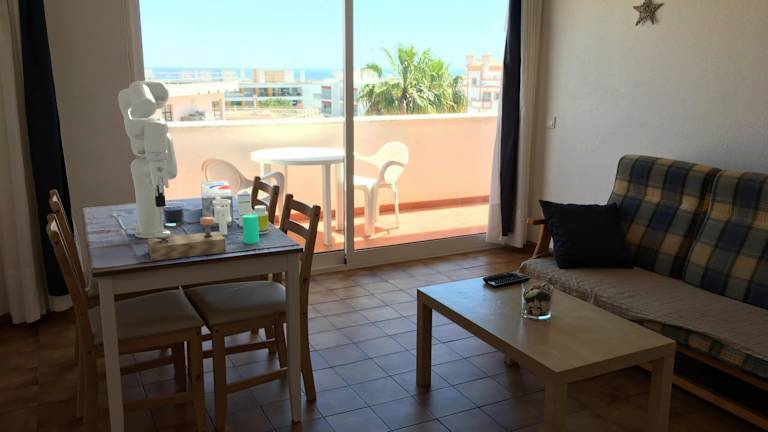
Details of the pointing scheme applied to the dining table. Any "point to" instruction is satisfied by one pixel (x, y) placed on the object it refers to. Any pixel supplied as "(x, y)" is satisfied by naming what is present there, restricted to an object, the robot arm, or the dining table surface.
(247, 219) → the candle
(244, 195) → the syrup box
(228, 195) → the soda pack
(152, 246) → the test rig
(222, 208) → the white cylindrical holder
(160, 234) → the silver oval piece
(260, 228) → the pill bottle
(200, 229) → the dining table surface
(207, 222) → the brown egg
